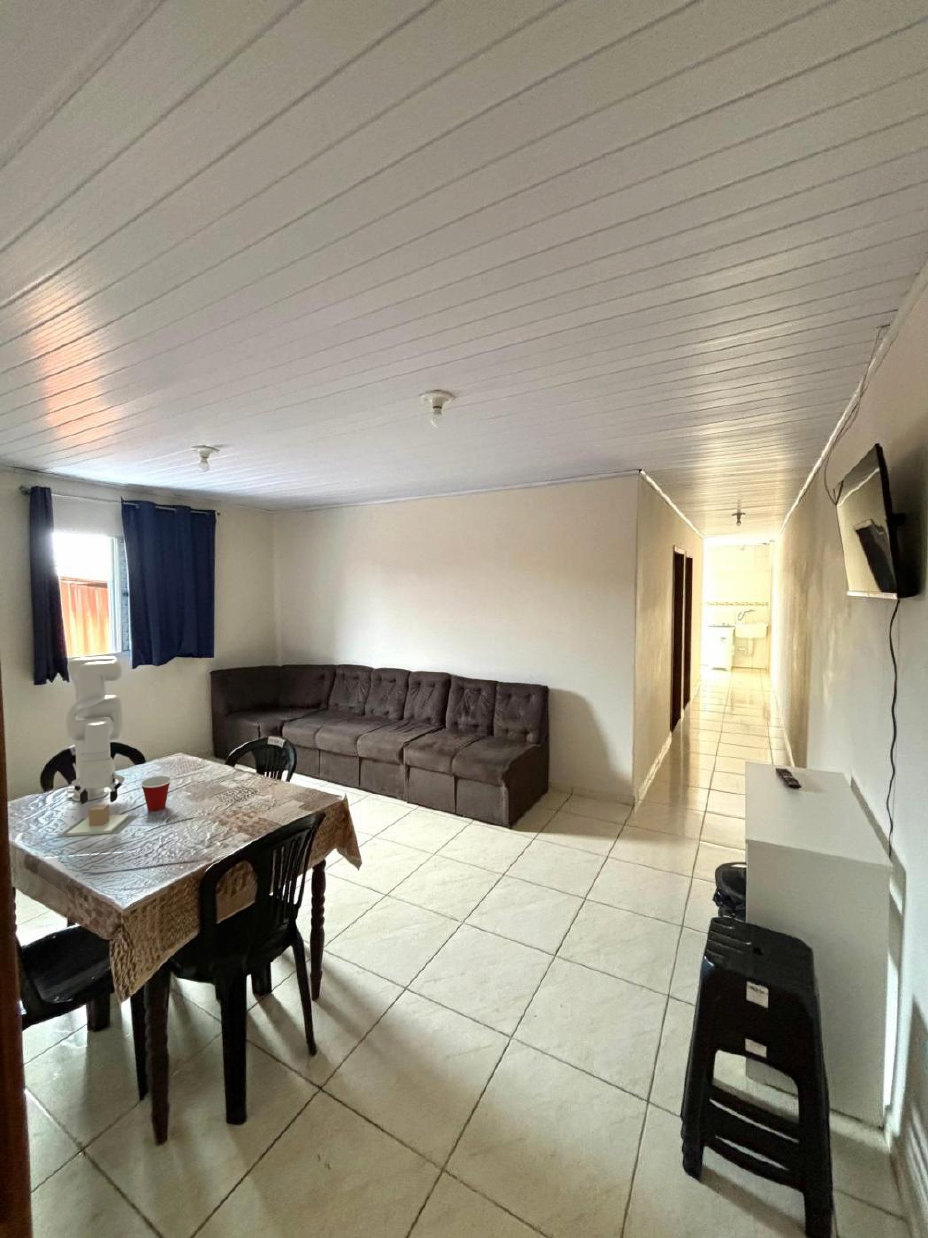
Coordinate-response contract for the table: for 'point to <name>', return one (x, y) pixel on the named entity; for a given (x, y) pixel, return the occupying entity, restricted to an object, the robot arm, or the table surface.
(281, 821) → the table surface
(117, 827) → the mat
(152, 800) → the plastic cup
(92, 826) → the lid
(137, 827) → the table surface
